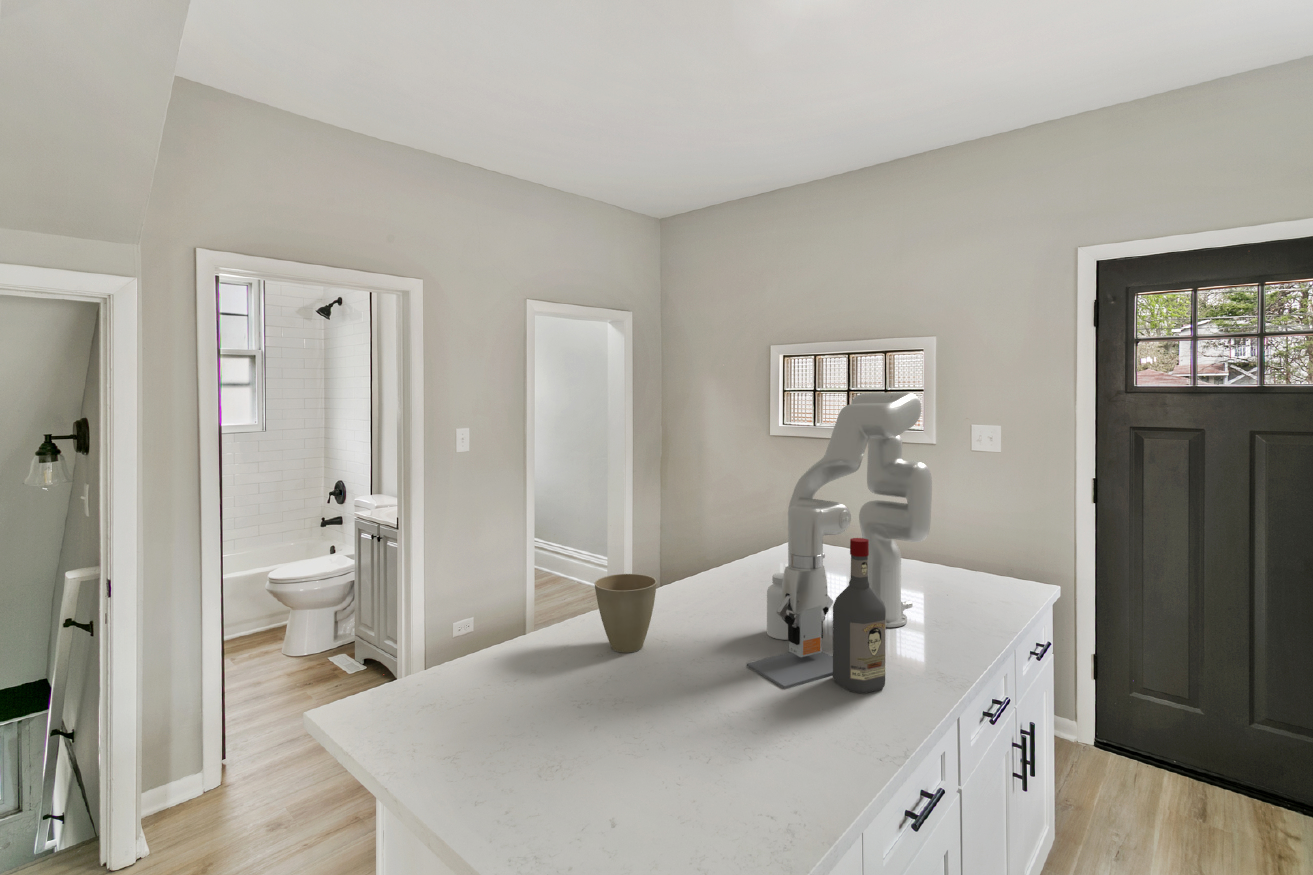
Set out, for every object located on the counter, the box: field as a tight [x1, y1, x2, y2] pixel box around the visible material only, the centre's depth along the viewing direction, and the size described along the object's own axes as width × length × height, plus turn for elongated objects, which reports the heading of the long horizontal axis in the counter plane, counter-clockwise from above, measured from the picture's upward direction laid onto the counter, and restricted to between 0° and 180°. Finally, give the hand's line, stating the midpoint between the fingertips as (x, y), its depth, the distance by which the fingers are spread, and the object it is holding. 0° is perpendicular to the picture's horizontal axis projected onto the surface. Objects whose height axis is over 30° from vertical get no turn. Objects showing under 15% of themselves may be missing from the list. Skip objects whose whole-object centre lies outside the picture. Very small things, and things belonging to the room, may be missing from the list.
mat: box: [746, 650, 833, 690], centre depth 140 cm, size 19×13×1 cm
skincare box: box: [788, 605, 822, 657], centre depth 143 cm, size 6×4×12 cm
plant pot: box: [594, 573, 658, 653], centre depth 153 cm, size 15×15×16 cm
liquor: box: [832, 537, 887, 694], centre depth 131 cm, size 9×9×30 cm
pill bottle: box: [766, 572, 789, 641], centre depth 159 cm, size 8×8×15 cm
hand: (805, 639), depth 143 cm, fingers closed on skincare box, 6 cm apart
